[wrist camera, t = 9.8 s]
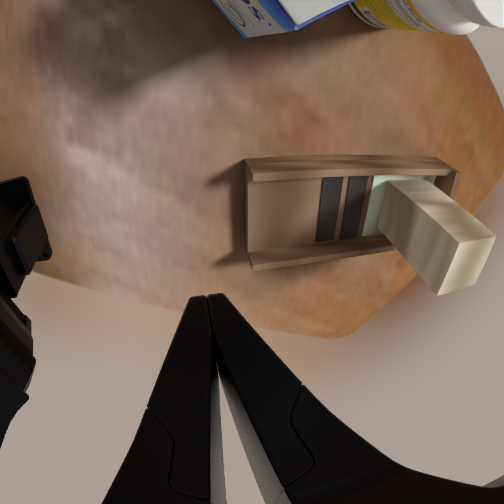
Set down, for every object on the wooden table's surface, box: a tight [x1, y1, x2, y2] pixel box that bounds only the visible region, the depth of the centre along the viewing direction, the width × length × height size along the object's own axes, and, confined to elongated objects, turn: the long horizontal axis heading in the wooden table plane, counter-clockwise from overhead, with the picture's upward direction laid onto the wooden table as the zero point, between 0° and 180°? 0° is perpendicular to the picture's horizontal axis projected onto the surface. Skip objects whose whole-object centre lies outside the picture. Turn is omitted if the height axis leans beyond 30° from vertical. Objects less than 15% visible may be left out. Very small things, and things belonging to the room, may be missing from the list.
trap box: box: [245, 155, 460, 271], centre depth 22 cm, size 16×7×3 cm, turn 90°
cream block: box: [377, 180, 496, 296], centre depth 20 cm, size 4×4×8 cm
